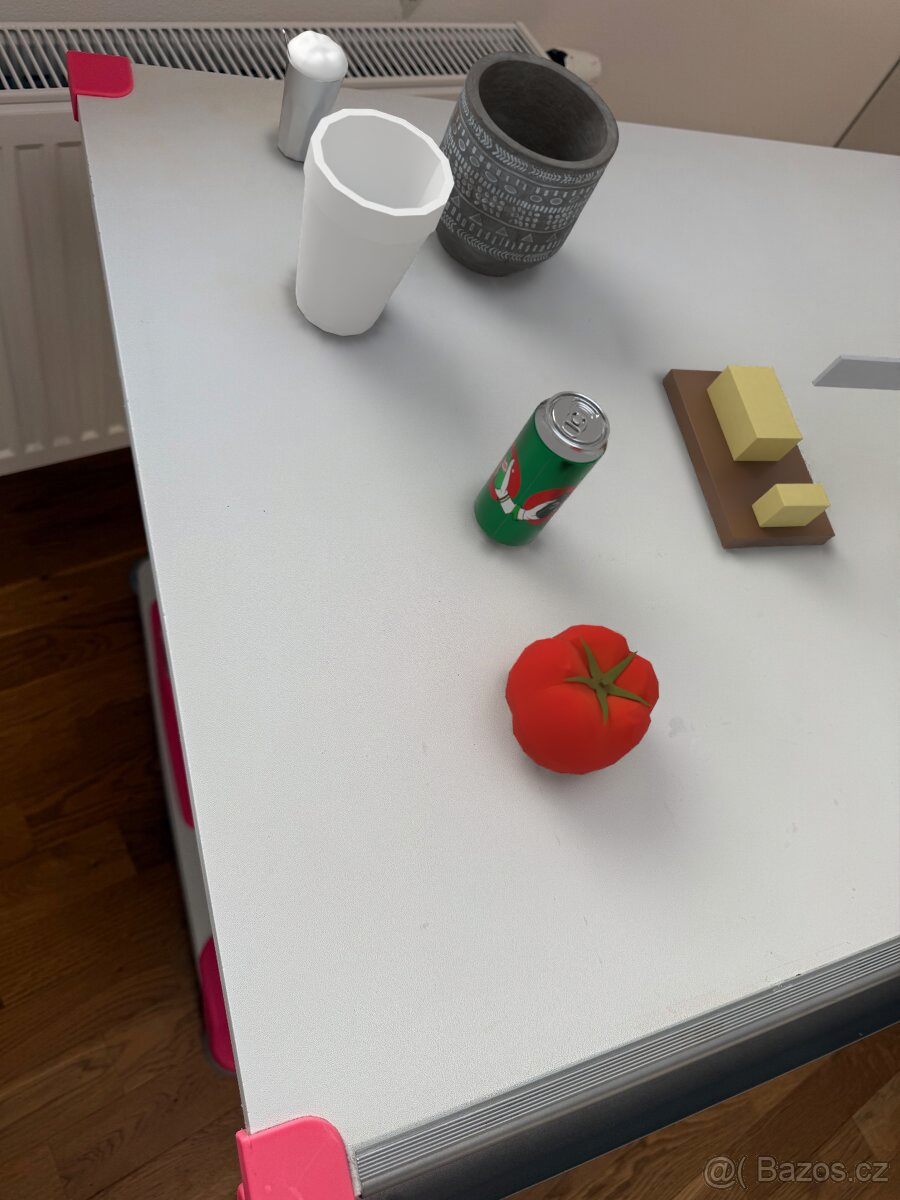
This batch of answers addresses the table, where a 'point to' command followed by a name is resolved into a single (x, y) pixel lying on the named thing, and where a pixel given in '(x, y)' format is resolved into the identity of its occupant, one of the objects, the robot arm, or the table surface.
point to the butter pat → (790, 505)
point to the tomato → (580, 699)
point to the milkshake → (308, 89)
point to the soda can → (542, 468)
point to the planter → (521, 161)
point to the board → (735, 471)
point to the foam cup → (364, 214)
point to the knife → (861, 373)
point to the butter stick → (753, 413)
